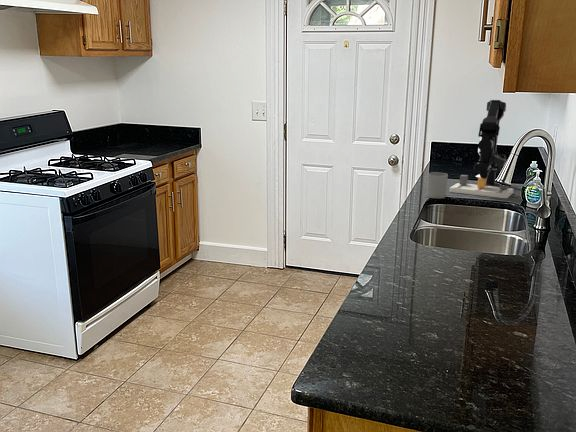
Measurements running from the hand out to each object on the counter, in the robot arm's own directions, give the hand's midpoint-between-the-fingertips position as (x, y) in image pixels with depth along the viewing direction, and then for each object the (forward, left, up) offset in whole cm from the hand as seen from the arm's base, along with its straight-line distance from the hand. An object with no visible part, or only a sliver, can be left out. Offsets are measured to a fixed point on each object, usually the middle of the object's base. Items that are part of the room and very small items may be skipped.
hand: (484, 183), depth 253 cm
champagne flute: (-36, -10, -4) cm, 37 cm away
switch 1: (+1, -9, -1) cm, 9 cm away
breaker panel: (+4, 0, -4) cm, 5 cm away
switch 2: (+1, +9, -1) cm, 9 cm away
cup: (+22, -15, -4) cm, 27 cm away
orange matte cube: (+4, 0, -1) cm, 4 cm away
